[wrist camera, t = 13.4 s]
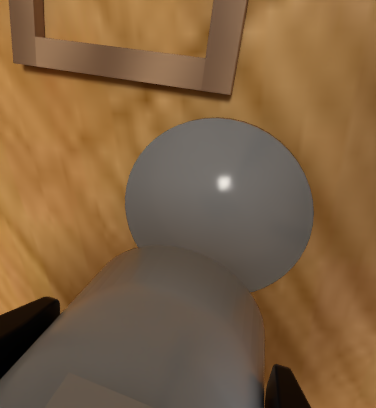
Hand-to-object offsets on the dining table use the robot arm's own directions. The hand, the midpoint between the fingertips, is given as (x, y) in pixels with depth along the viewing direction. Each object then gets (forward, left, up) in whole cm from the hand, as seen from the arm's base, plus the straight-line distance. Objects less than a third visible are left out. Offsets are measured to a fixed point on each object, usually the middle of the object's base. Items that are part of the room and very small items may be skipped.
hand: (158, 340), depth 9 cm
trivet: (0, 0, -11) cm, 11 cm away
